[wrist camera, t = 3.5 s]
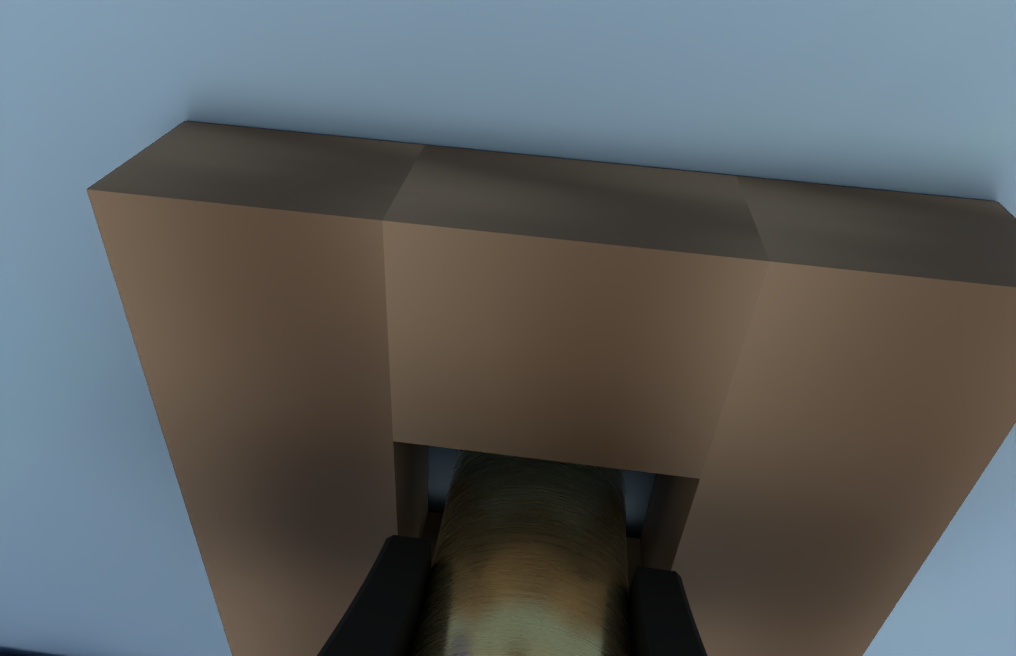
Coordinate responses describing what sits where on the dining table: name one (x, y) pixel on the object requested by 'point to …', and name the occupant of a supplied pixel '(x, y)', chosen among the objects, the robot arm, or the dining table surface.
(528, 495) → the spice jar
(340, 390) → the socket block
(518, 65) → the dining table surface
